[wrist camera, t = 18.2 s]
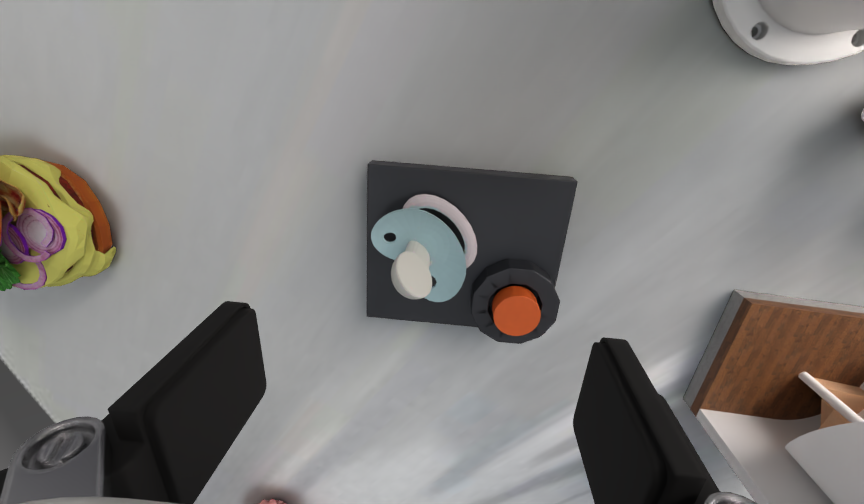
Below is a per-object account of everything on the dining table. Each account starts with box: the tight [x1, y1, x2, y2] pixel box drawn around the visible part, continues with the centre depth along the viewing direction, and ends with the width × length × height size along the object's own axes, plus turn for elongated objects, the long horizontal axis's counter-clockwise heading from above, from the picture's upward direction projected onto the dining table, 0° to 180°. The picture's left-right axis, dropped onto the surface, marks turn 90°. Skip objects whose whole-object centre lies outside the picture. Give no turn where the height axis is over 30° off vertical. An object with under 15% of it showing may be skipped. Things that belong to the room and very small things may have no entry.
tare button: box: [492, 286, 541, 336], centre depth 28 cm, size 3×3×2 cm
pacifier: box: [371, 194, 477, 302], centre depth 26 cm, size 7×6×6 cm
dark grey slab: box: [367, 160, 578, 344], centre depth 29 cm, size 14×12×3 cm
